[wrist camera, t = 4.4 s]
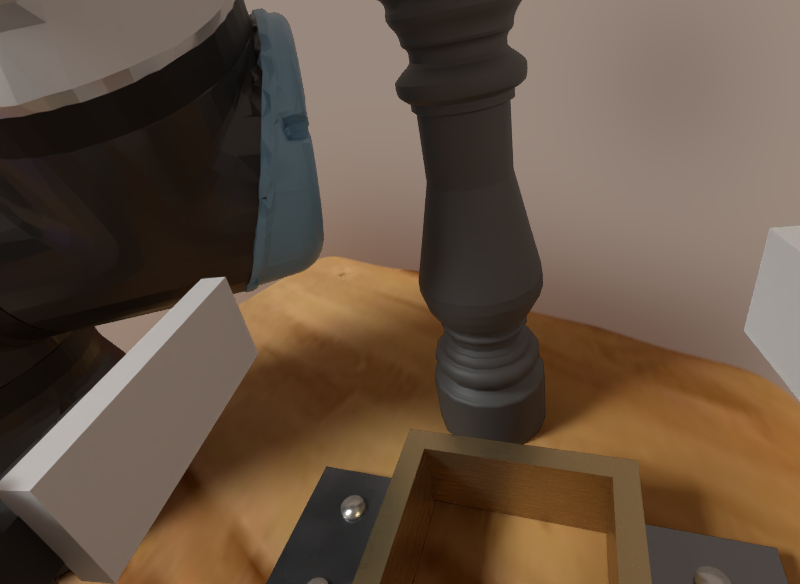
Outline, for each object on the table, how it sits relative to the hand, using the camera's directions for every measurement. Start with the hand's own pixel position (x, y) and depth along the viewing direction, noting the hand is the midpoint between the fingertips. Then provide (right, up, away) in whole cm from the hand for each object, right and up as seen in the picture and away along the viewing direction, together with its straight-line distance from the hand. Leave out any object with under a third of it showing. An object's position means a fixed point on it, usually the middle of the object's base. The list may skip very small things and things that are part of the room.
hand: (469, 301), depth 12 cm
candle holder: (+4, -7, +16) cm, 18 cm away
